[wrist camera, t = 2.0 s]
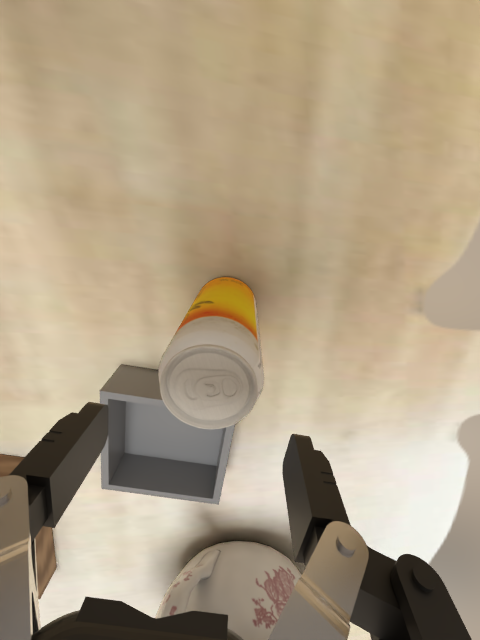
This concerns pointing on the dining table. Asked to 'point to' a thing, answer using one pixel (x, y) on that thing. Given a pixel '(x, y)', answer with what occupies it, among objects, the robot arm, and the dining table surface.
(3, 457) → the serving board rim
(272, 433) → the dining table surface
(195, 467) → the box
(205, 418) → the beer can
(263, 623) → the chamber pot
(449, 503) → the dining table surface
